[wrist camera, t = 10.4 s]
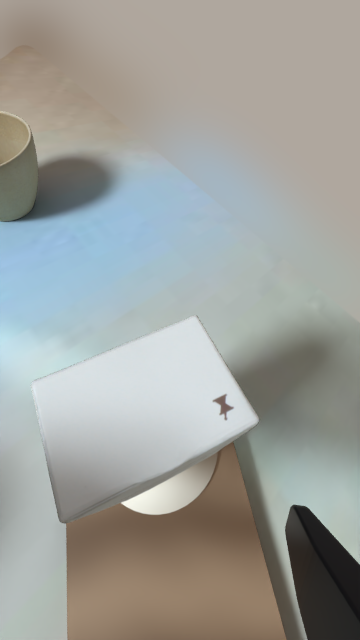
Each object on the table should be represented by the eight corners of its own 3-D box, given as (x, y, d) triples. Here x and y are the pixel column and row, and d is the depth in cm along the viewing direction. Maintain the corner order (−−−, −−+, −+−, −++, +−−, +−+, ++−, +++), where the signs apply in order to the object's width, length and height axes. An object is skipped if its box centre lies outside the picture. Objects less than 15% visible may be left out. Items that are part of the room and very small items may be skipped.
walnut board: (302, 721, 14) (316, 744, 13) (77, 803, 13) (67, 839, 12) (212, 378, 23) (215, 371, 22) (70, 404, 22) (63, 399, 20)
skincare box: (184, 396, 21) (201, 308, 10) (212, 455, 19) (268, 423, 8) (101, 434, 19) (23, 378, 9) (123, 503, 17) (58, 535, 7)
